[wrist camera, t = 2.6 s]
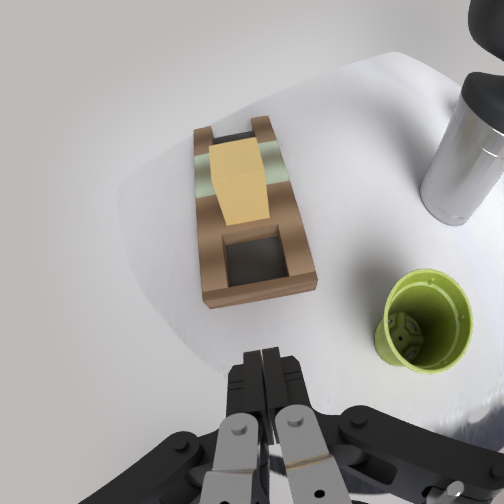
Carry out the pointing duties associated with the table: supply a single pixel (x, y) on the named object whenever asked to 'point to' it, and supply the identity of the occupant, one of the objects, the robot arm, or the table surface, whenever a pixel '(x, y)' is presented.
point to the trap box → (250, 231)
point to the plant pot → (425, 323)
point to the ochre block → (239, 180)
